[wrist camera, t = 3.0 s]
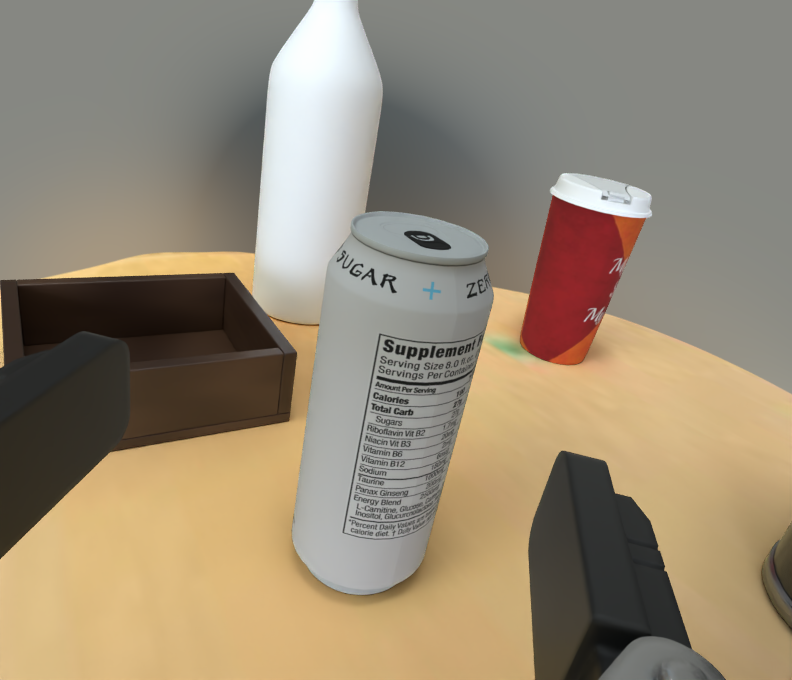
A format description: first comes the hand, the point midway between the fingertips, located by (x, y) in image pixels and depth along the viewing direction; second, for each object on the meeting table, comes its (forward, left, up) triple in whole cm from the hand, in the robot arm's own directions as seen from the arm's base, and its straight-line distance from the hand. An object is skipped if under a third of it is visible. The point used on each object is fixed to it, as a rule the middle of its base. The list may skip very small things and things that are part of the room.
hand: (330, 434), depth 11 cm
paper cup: (-33, -23, -14) cm, 43 cm away
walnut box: (-1, -25, -14) cm, 28 cm away
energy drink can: (-7, -9, -14) cm, 18 cm away
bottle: (-15, -34, -14) cm, 40 cm away
